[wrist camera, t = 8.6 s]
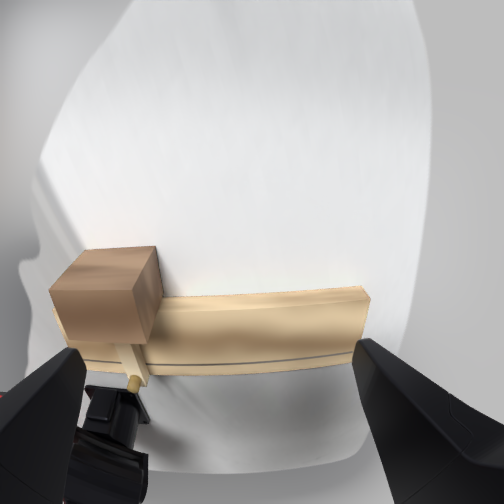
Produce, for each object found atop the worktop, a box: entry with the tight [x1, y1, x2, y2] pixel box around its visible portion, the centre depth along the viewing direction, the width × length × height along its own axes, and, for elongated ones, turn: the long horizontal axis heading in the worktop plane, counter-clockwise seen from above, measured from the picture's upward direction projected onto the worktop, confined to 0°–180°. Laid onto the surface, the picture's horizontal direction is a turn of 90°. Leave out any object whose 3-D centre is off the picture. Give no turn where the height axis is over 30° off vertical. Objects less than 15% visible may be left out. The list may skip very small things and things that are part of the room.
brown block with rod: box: [49, 246, 164, 393], centre depth 20 cm, size 11×6×6 cm, turn 1°
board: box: [52, 286, 370, 376], centre depth 23 cm, size 7×26×2 cm, turn 91°
